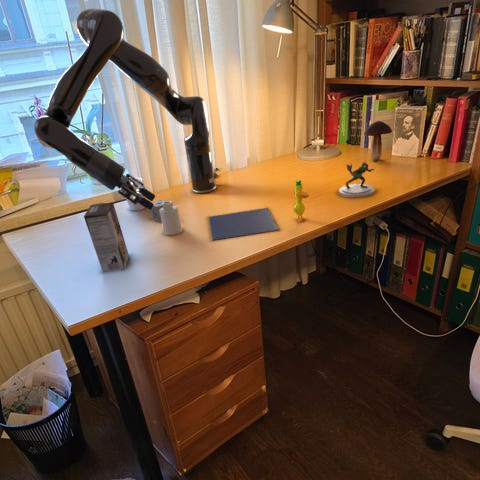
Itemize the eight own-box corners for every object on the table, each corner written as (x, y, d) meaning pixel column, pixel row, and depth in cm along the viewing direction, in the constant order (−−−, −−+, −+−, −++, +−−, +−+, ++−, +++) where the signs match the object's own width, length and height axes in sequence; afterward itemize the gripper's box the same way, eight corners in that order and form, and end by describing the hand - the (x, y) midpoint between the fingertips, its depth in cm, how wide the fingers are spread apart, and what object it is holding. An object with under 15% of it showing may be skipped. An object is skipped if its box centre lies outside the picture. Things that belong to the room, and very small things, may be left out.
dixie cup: (153, 205, 156) (146, 179, 150) (135, 213, 151) (127, 185, 146) (140, 202, 161) (133, 176, 155) (122, 209, 156) (115, 183, 151)
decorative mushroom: (363, 164, 170) (365, 124, 161) (361, 157, 178) (363, 119, 170) (391, 162, 167) (394, 122, 159) (387, 155, 176) (391, 117, 168)
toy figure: (312, 221, 126) (312, 181, 119) (303, 224, 124) (302, 184, 117) (299, 216, 131) (297, 177, 124) (290, 219, 129) (288, 180, 122)
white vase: (164, 229, 134) (158, 201, 129) (182, 227, 134) (176, 198, 129) (164, 236, 129) (157, 206, 124) (182, 233, 129) (176, 204, 124)
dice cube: (164, 213, 147) (161, 200, 144) (172, 216, 144) (169, 202, 141) (152, 218, 144) (149, 204, 141) (160, 221, 141) (157, 206, 138)
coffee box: (107, 258, 120) (90, 204, 111) (129, 255, 120) (113, 201, 111) (101, 272, 112) (82, 216, 103) (125, 269, 112) (107, 212, 103)
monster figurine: (360, 199, 136) (362, 167, 130) (331, 194, 144) (332, 163, 138) (381, 189, 142) (384, 158, 136) (352, 184, 150) (353, 155, 144)
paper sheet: (209, 217, 139) (208, 216, 139) (267, 208, 139) (267, 207, 139) (212, 240, 122) (212, 239, 122) (279, 230, 123) (279, 229, 123)
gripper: (107, 165, 112) (158, 200, 119) (114, 153, 124) (160, 186, 131) (93, 187, 115) (144, 220, 122) (102, 174, 126) (148, 205, 133)
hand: (153, 202), depth 126 cm, fingers open, 8 cm apart
